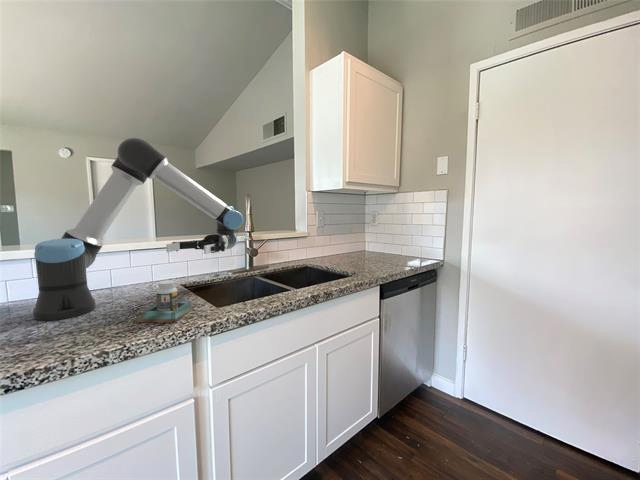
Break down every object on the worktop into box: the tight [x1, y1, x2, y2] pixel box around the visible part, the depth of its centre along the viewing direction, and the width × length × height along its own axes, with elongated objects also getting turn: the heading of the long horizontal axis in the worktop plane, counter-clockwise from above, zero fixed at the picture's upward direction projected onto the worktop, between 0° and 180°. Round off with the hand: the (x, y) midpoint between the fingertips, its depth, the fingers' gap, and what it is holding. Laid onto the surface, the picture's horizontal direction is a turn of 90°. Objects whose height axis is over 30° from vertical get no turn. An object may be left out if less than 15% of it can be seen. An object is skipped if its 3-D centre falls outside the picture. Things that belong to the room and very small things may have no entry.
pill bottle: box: [156, 279, 179, 311], centre depth 89 cm, size 6×6×10 cm
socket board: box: [135, 301, 192, 324], centre depth 90 cm, size 12×10×3 cm
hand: (185, 249), depth 98 cm, fingers open, 13 cm apart
